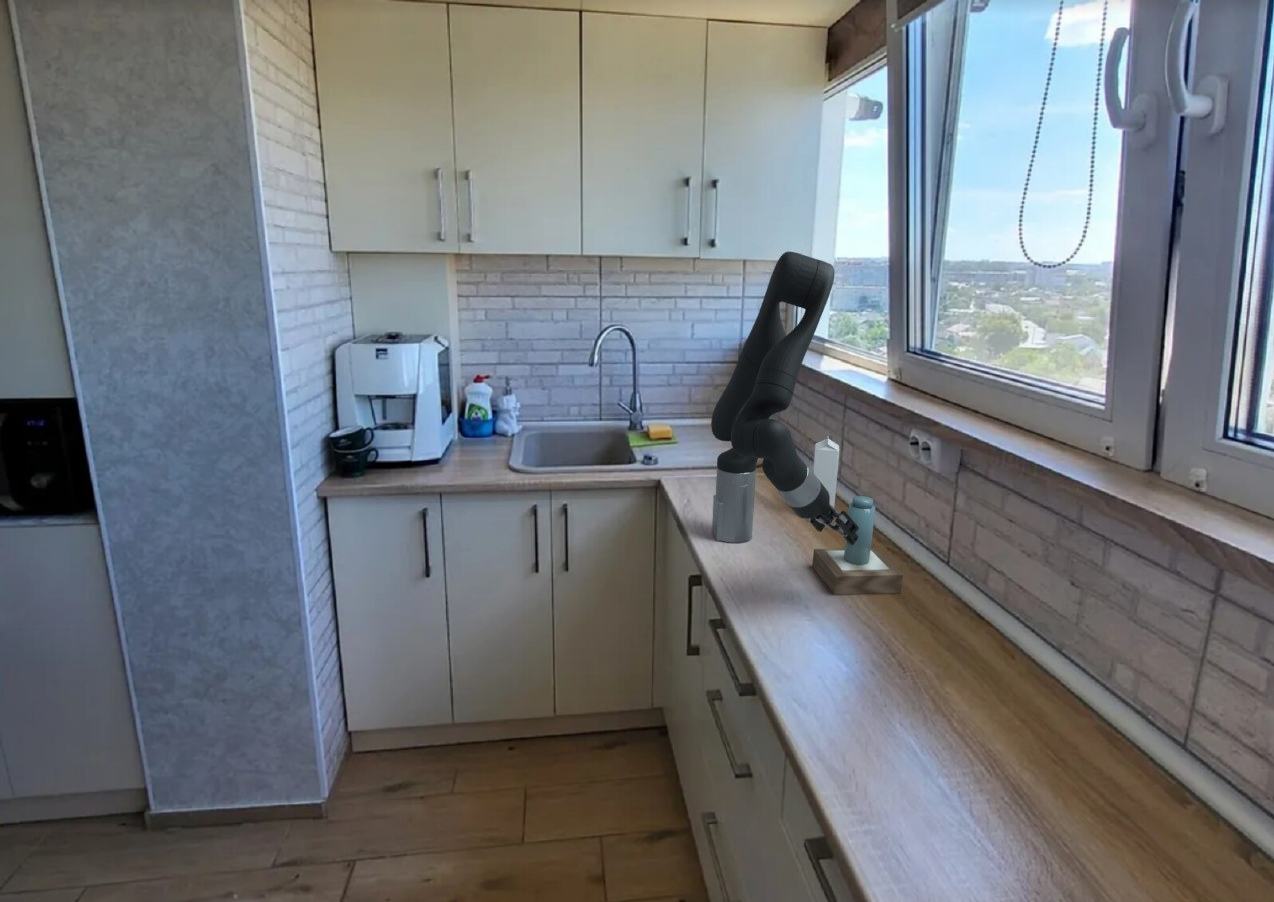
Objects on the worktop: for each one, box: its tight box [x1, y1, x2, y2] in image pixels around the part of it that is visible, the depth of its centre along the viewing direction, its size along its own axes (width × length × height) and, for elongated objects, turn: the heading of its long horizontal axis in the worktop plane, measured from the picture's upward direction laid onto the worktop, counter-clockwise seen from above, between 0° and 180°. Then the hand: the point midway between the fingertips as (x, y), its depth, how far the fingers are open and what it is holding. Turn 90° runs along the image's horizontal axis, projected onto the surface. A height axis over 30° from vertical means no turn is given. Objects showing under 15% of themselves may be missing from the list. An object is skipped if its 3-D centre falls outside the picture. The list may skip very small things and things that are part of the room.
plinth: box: [812, 547, 904, 596], centre depth 156 cm, size 14×14×4 cm
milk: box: [812, 437, 840, 523], centre depth 189 cm, size 6×6×22 cm
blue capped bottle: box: [844, 495, 876, 565], centre depth 153 cm, size 5×5×14 cm
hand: (837, 534), depth 150 cm, fingers open, 8 cm apart
